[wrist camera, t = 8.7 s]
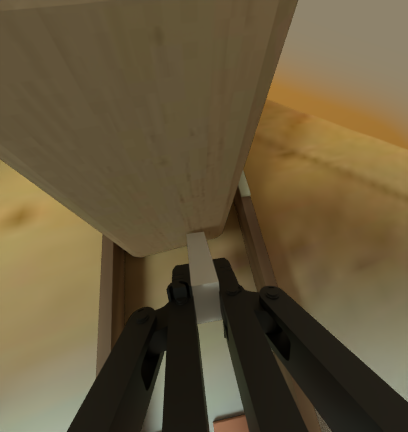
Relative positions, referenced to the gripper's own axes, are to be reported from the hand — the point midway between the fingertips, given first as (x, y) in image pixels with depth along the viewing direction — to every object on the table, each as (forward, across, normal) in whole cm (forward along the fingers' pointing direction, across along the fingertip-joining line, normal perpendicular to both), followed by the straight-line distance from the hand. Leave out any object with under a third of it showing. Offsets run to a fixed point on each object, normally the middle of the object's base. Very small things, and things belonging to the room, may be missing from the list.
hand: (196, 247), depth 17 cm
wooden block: (+8, -2, +1) cm, 8 cm away
